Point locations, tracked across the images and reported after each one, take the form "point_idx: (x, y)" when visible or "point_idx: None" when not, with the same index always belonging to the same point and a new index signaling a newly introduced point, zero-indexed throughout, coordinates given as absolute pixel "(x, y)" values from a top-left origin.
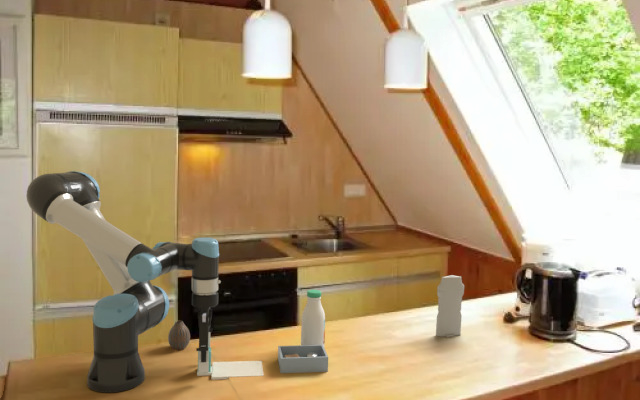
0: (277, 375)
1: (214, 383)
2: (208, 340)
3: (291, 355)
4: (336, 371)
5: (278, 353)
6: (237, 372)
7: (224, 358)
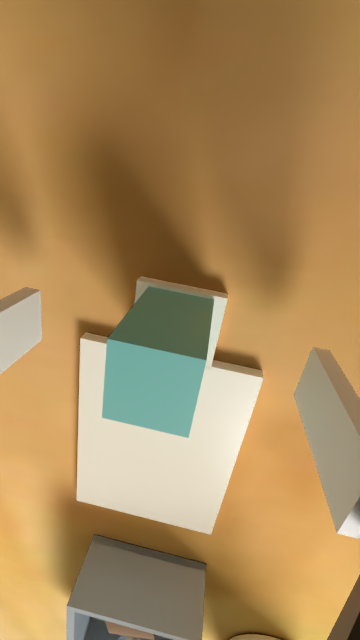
0: (93, 527)
1: (46, 336)
2: (321, 457)
3: None
4: None
5: (181, 606)
6: (115, 439)
7: None
